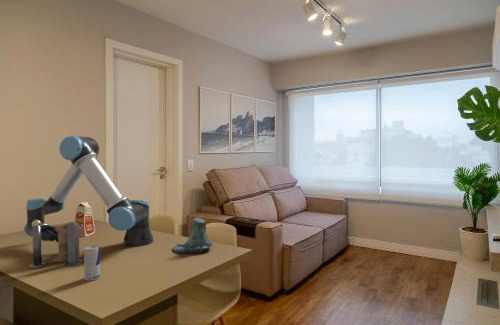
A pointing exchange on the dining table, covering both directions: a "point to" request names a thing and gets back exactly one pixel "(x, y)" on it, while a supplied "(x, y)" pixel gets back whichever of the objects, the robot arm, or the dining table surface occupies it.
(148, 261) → the dining table surface
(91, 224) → the milk carton
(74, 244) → the dark grey bar
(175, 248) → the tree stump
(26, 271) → the dining table surface
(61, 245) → the gate
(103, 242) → the dining table surface
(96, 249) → the energy drink
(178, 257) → the dining table surface
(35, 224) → the hinge post
